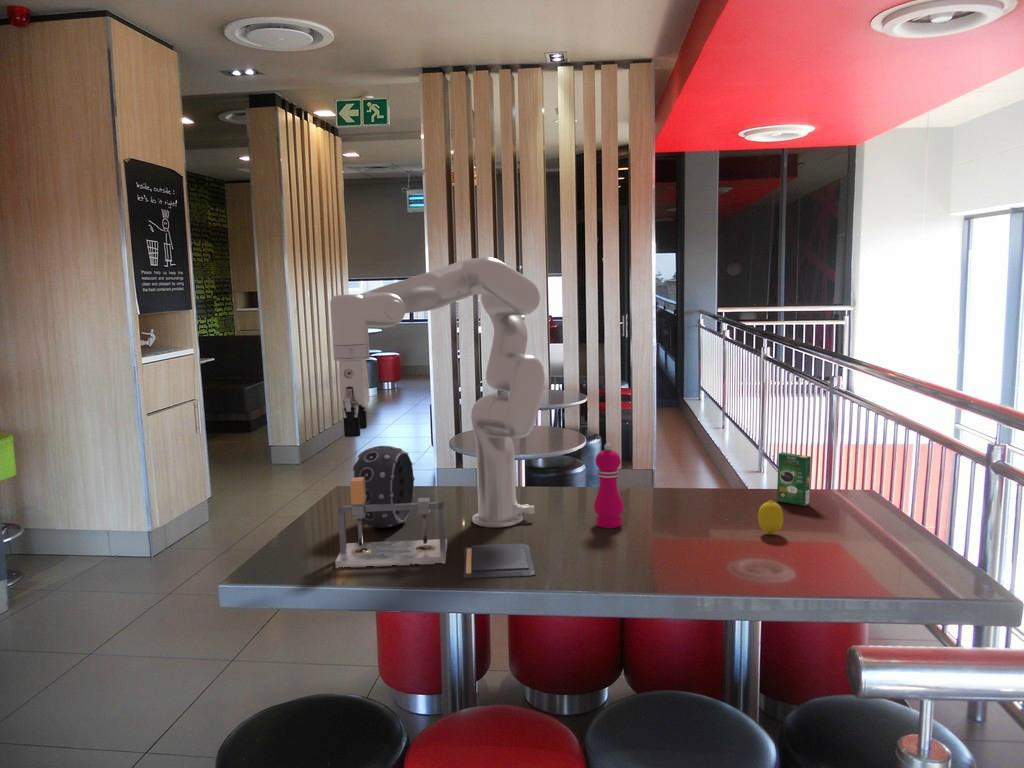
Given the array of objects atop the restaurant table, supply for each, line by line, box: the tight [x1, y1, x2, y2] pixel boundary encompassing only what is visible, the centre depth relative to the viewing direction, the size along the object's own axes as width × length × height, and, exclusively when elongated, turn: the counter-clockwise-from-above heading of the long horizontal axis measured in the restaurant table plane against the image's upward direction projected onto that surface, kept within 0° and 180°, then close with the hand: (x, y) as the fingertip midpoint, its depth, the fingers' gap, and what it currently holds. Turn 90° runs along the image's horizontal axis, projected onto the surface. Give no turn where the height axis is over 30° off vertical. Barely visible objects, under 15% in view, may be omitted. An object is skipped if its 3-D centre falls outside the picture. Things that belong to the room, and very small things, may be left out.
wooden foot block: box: [349, 477, 366, 547], centre depth 166 cm, size 3×4×15 cm
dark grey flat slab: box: [462, 542, 536, 580], centre depth 162 cm, size 20×2×15 cm
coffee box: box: [776, 451, 812, 507], centre depth 200 cm, size 8×3×13 cm, turn 44°
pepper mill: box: [593, 443, 625, 529], centre depth 185 cm, size 7×7×20 cm
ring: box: [350, 445, 416, 529], centre depth 190 cm, size 11×20×20 cm, turn 170°
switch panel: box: [334, 497, 448, 569], centre depth 166 cm, size 23×12×12 cm, turn 93°
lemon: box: [757, 499, 785, 535], centre depth 175 cm, size 6×6×8 cm
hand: (356, 432), depth 164 cm, fingers open, 9 cm apart
